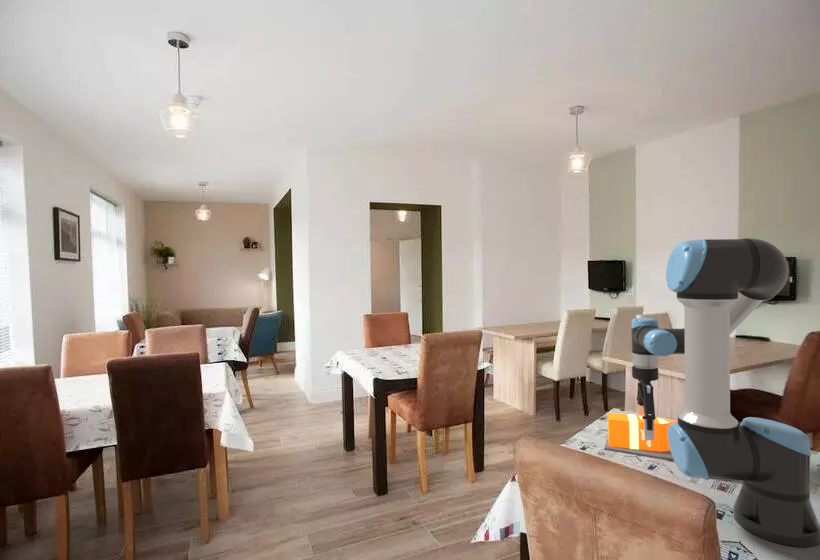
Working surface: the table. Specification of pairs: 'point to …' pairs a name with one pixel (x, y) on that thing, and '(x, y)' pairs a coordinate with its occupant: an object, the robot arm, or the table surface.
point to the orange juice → (637, 432)
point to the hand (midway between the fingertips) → (645, 432)
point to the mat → (641, 452)
